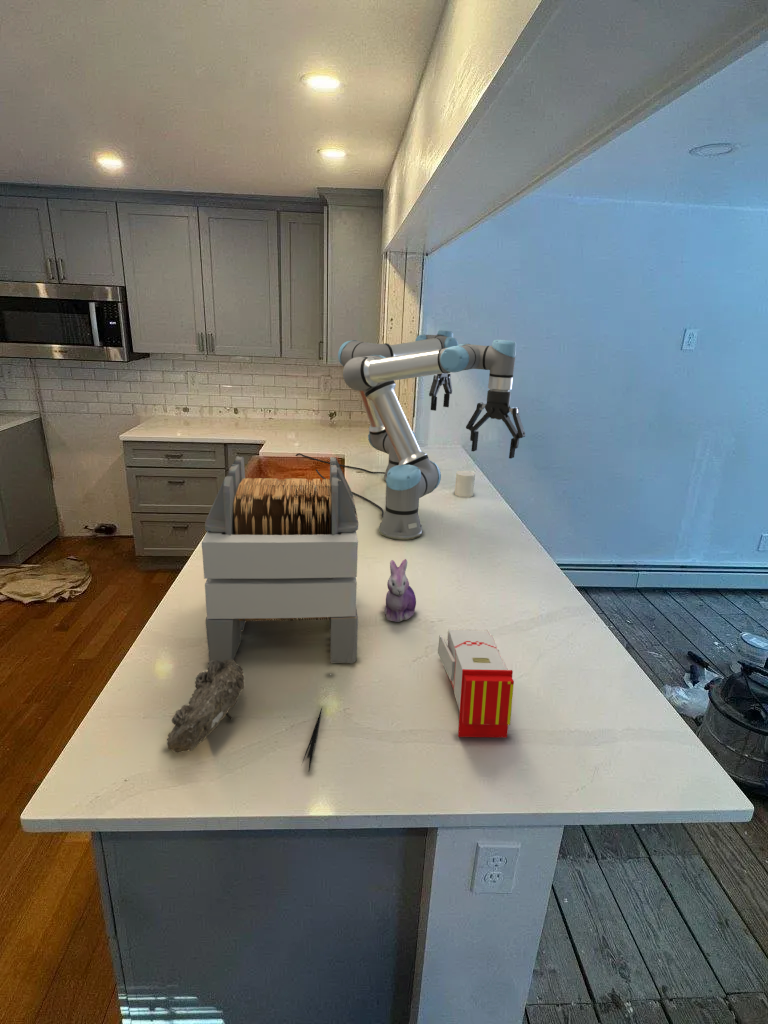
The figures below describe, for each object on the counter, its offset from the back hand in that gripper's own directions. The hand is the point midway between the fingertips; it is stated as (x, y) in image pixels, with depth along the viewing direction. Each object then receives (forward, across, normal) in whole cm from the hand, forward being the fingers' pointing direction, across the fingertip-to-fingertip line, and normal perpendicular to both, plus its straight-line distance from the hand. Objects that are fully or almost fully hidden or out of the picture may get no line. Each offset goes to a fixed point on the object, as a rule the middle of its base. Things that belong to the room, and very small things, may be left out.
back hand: (439, 408), depth 279 cm
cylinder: (+29, -34, -32) cm, 55 cm away
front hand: (-1, -75, -58) cm, 95 cm away
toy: (+29, -157, -90) cm, 184 cm away
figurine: (+29, -139, -62) cm, 155 cm away
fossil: (+29, -193, -53) cm, 203 cm away
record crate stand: (+29, -160, -42) cm, 168 cm away
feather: (+29, -182, -70) cm, 197 cm away
